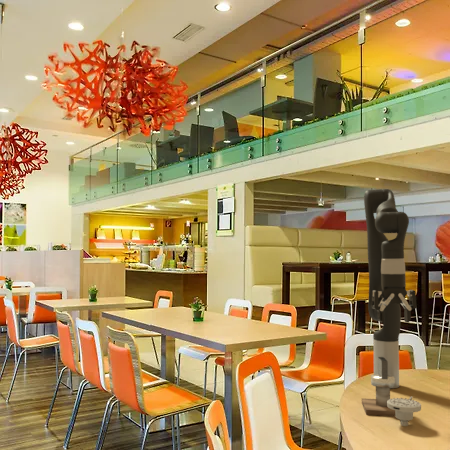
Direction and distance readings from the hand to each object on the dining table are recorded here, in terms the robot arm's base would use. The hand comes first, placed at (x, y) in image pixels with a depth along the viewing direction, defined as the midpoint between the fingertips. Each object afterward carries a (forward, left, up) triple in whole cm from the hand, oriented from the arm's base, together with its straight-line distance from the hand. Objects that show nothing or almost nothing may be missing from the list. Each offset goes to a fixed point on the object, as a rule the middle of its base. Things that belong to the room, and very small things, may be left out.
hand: (394, 322), depth 165 cm
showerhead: (+16, 0, -28) cm, 32 cm away
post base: (+2, -4, -28) cm, 28 cm away
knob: (+1, -4, -20) cm, 20 cm away
